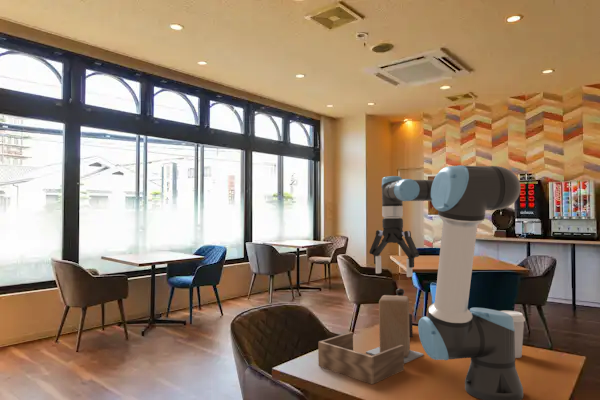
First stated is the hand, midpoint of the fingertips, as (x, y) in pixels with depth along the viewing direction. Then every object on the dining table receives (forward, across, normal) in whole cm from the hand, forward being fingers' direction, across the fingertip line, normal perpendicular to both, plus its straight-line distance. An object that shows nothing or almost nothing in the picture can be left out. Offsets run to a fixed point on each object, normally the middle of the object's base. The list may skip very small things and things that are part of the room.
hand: (393, 274), depth 158 cm
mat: (+28, -1, +2) cm, 29 cm away
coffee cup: (+29, -32, -27) cm, 50 cm away
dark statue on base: (+29, +15, -23) cm, 40 cm away
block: (+28, -1, +2) cm, 28 cm away
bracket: (+28, -1, +22) cm, 36 cm away
